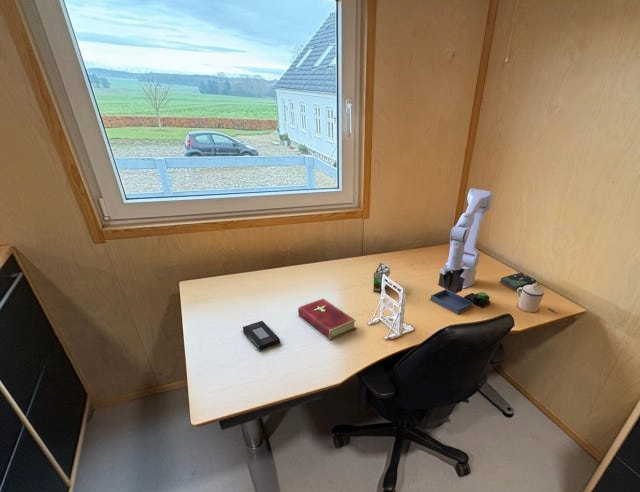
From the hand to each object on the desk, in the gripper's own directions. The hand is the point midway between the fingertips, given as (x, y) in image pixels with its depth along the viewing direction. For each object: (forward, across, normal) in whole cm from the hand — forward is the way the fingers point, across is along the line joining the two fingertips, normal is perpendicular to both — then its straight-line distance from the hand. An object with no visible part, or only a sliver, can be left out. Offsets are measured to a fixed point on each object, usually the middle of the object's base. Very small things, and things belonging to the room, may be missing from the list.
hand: (450, 285), depth 155 cm
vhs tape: (+9, +76, -25) cm, 80 cm away
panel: (+8, -11, +8) cm, 16 cm away
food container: (+9, +15, -27) cm, 32 cm away
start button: (+5, -11, +10) cm, 16 cm away
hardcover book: (+9, +52, -19) cm, 56 cm away
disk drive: (+9, -44, +10) cm, 45 cm away
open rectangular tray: (+8, 0, +2) cm, 9 cm away
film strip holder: (+9, +34, -1) cm, 35 cm away
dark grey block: (+1, 0, 0) cm, 1 cm away
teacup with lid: (+9, -26, +24) cm, 36 cm away
